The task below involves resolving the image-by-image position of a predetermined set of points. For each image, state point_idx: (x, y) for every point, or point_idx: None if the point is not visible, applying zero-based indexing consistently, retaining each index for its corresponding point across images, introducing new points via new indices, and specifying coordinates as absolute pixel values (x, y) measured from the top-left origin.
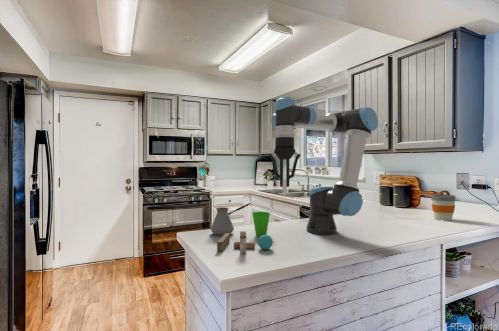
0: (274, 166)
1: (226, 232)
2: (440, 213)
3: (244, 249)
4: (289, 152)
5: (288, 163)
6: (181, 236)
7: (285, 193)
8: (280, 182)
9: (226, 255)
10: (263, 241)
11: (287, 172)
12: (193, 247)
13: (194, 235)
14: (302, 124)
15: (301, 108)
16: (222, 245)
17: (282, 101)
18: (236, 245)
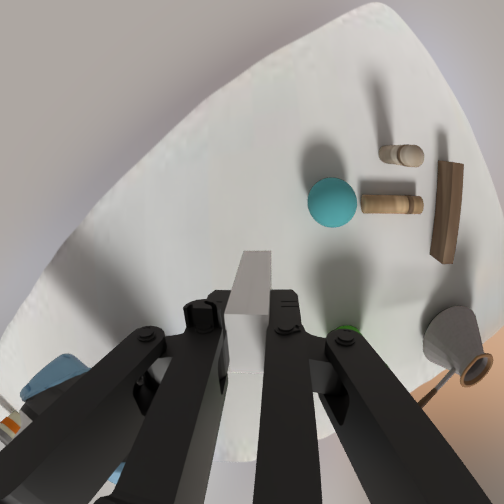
0: (416, 433)
1: (441, 313)
2: (16, 422)
3: (386, 146)
4: None
5: (135, 481)
6: None
7: (249, 255)
8: (293, 309)
9: (423, 134)
10: (338, 180)
11: (193, 368)
12: (496, 198)
13: (497, 299)
14: None
15: None
16: (446, 166)
17: None
18: (413, 196)
